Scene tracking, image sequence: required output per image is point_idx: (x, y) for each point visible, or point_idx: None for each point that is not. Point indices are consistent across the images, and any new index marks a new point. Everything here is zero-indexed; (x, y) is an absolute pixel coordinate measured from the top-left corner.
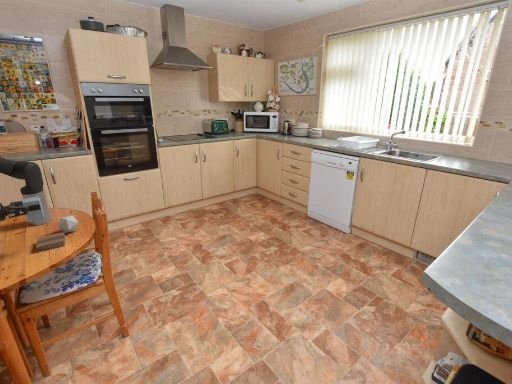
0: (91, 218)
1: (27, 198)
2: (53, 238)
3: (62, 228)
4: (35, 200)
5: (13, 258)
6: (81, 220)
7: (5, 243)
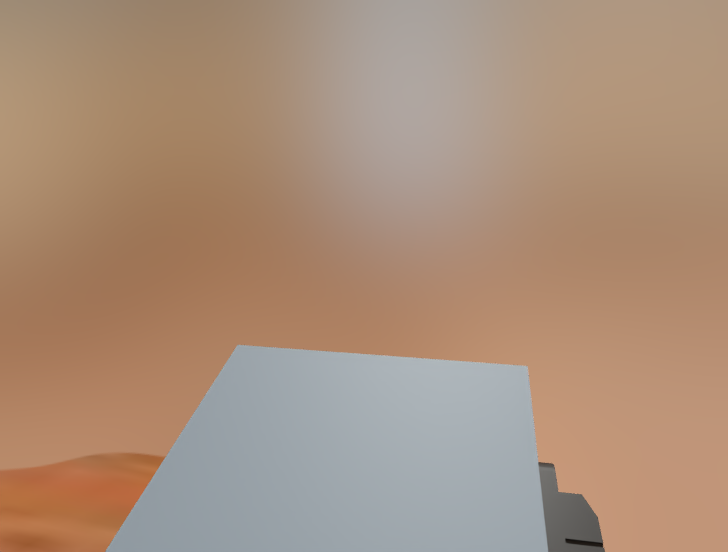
0: (128, 459)
1: (148, 504)
2: None
3: None
4: (514, 405)
5: None
6: (83, 514)
7: None
